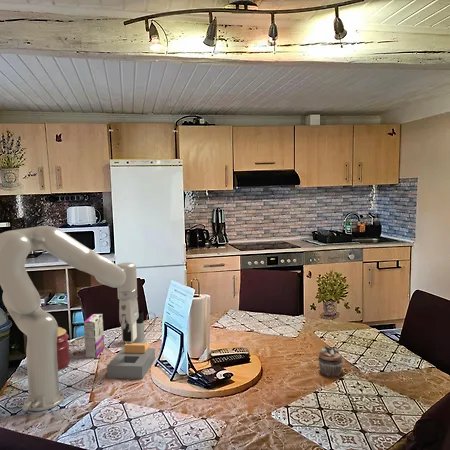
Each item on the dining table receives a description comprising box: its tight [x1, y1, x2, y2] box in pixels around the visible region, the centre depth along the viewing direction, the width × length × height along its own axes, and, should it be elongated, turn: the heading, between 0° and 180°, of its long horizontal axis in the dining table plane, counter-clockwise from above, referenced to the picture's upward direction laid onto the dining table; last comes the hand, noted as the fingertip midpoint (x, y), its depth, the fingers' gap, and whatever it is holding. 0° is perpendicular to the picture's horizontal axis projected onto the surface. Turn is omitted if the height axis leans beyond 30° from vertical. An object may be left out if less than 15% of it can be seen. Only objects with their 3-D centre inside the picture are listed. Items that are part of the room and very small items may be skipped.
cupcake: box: [318, 344, 344, 377], centre depth 158 cm, size 10×10×10 cm
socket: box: [106, 346, 156, 380], centre depth 164 cm, size 18×14×5 cm
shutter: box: [123, 343, 151, 353], centre depth 171 cm, size 8×9×3 cm
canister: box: [57, 326, 71, 371], centre depth 167 cm, size 13×13×18 cm
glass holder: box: [126, 309, 157, 344], centre depth 193 cm, size 9×14×15 cm, turn 115°
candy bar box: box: [83, 313, 105, 359], centre depth 180 cm, size 11×5×16 cm, turn 179°
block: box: [120, 321, 137, 344], centre depth 160 cm, size 5×5×10 cm
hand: (129, 338), depth 160 cm, fingers closed on block, 4 cm apart
